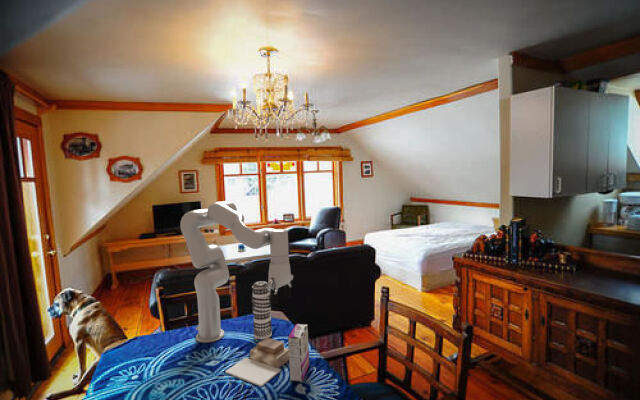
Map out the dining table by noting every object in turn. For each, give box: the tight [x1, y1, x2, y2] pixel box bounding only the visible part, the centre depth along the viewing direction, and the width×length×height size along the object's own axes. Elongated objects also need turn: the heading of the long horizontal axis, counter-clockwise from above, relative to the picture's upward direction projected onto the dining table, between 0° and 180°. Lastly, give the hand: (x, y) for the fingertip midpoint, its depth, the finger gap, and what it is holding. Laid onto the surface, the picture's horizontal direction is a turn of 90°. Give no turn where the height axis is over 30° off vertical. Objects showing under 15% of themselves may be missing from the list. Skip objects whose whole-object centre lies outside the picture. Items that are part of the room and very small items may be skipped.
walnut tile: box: [256, 337, 285, 355], centre depth 134 cm, size 9×6×2 cm, turn 59°
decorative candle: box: [250, 280, 273, 340], centre depth 155 cm, size 9×9×25 cm
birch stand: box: [249, 345, 289, 369], centre depth 134 cm, size 14×8×4 cm, turn 59°
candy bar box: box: [287, 323, 310, 383], centre depth 124 cm, size 11×5×16 cm, turn 168°
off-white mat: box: [225, 357, 282, 388], centre depth 126 cm, size 18×11×1 cm, turn 59°
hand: (281, 299), depth 140 cm, fingers open, 8 cm apart
